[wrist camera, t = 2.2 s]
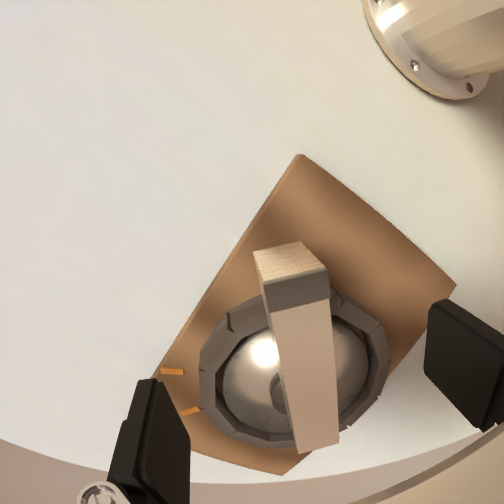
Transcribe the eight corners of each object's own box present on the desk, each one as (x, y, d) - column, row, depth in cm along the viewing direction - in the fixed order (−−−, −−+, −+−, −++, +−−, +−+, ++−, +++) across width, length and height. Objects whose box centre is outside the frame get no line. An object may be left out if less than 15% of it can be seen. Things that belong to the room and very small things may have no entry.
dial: (360, 398, 23) (392, 456, 16) (240, 429, 22) (247, 497, 16) (349, 217, 18) (409, 246, 12) (183, 253, 18) (165, 304, 11)
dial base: (295, 153, 19) (312, 151, 15) (446, 278, 22) (473, 295, 19) (128, 411, 23) (119, 441, 19) (279, 465, 27) (285, 492, 23)
